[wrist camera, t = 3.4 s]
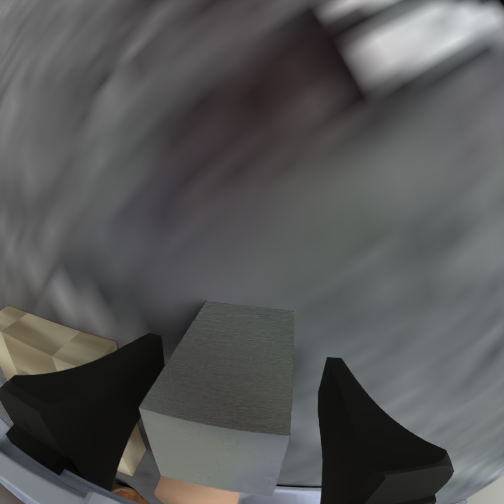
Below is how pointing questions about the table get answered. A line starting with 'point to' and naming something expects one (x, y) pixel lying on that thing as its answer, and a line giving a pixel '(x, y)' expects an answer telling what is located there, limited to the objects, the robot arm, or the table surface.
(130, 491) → the tin
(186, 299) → the table surface
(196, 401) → the square peg
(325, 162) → the table surface
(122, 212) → the table surface
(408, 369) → the table surface
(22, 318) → the bore block
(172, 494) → the round peg
